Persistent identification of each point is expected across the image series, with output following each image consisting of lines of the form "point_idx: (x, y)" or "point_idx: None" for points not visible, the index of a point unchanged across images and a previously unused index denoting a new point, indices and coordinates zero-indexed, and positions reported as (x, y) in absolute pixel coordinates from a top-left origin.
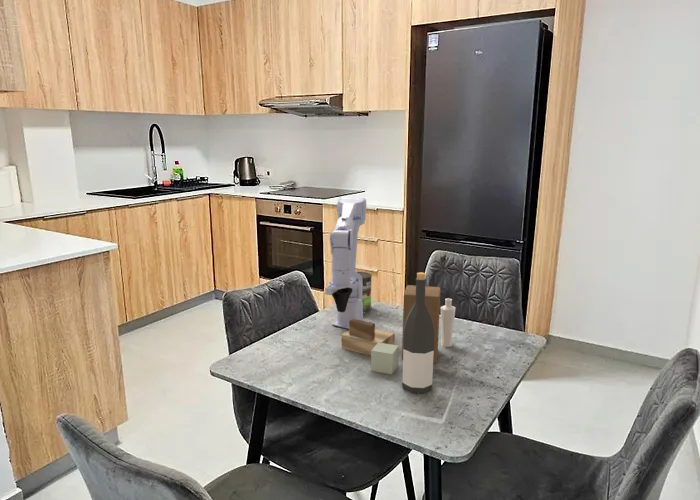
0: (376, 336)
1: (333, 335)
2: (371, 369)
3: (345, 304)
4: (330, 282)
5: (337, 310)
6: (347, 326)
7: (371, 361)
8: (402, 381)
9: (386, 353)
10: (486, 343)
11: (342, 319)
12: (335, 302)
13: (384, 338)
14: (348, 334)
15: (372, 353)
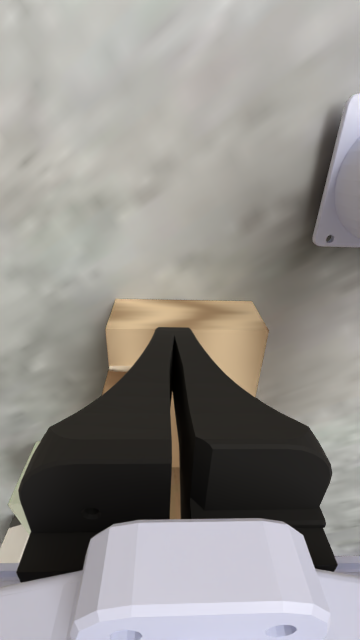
0: (176, 438)
1: (225, 186)
2: (35, 446)
3: (177, 421)
4: (78, 620)
5: (155, 330)
6: (331, 215)
7: (24, 468)
8: (7, 531)
9: (29, 532)
10: (339, 548)
11: (357, 185)
12: (133, 366)
13: (173, 462)
14: (128, 352)
15: (13, 497)
